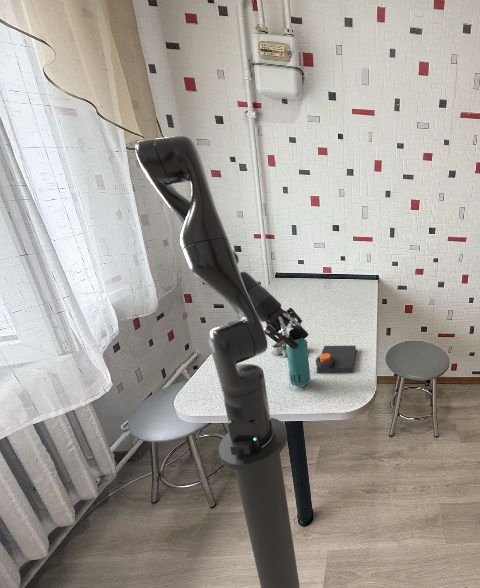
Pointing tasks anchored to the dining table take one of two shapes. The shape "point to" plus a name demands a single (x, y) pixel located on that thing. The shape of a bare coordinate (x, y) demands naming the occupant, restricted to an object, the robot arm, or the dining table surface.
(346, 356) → the scale
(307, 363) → the beverage bottle
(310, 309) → the dining table surface
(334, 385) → the dining table surface
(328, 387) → the dining table surface
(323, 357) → the button
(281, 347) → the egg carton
